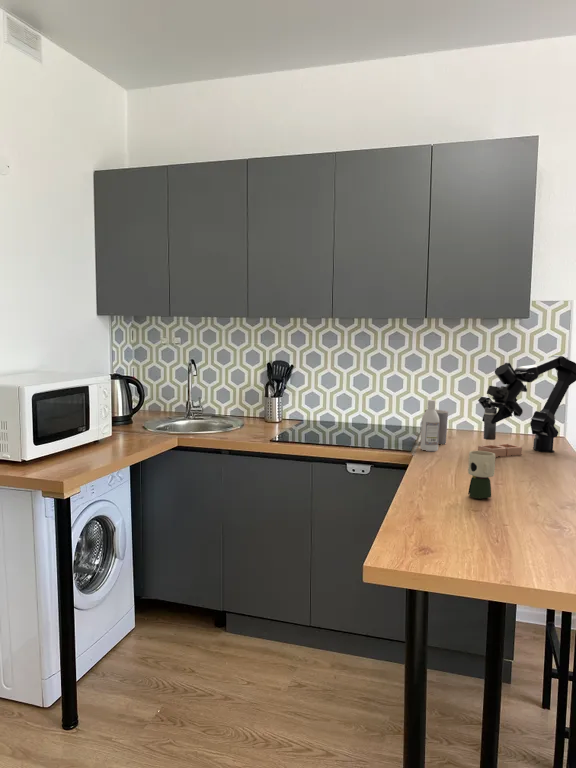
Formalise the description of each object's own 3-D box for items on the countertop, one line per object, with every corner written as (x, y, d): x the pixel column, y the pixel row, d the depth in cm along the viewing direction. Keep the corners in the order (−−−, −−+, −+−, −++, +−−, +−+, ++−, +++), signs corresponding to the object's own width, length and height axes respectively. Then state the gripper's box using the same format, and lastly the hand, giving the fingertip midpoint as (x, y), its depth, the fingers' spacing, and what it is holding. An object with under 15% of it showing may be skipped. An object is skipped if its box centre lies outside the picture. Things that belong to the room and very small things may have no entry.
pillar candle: (418, 442, 253) (420, 407, 252) (430, 439, 260) (432, 405, 259) (438, 446, 246) (440, 410, 245) (450, 443, 253) (452, 408, 252)
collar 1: (492, 452, 236) (492, 444, 236) (506, 456, 230) (506, 448, 229) (477, 453, 233) (478, 445, 233) (491, 457, 227) (491, 449, 226)
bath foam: (441, 451, 236) (444, 400, 234) (428, 452, 233) (431, 401, 231) (429, 447, 242) (432, 398, 240) (416, 449, 239) (418, 399, 237)
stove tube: (489, 437, 233) (491, 407, 232) (498, 439, 229) (499, 408, 228) (480, 438, 231) (482, 407, 230) (489, 440, 227) (490, 409, 226)
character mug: (461, 492, 175) (463, 448, 174) (485, 492, 175) (487, 449, 174) (473, 503, 164) (475, 456, 163) (498, 503, 164) (501, 457, 163)
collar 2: (507, 451, 240) (507, 443, 240) (521, 454, 233) (521, 447, 233) (493, 452, 237) (493, 444, 236) (507, 455, 230) (507, 448, 230)
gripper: (482, 376, 238) (459, 405, 235) (518, 380, 221) (494, 411, 218) (497, 395, 242) (474, 423, 239) (533, 400, 225) (509, 431, 222)
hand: (487, 422), depth 229 cm, fingers closed on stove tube, 4 cm apart
